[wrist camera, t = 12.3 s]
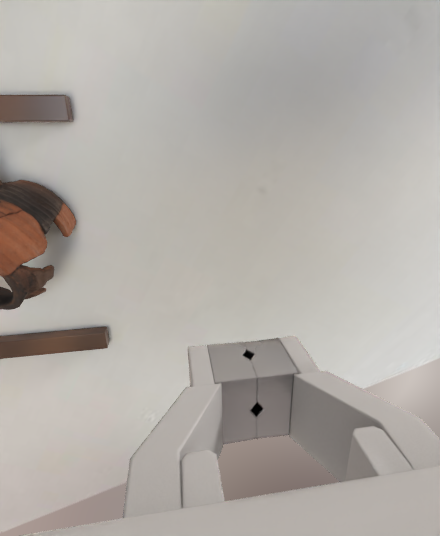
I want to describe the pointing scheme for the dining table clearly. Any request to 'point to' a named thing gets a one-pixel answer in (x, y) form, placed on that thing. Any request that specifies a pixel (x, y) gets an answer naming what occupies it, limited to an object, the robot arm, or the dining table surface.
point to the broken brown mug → (27, 237)
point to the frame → (57, 341)
